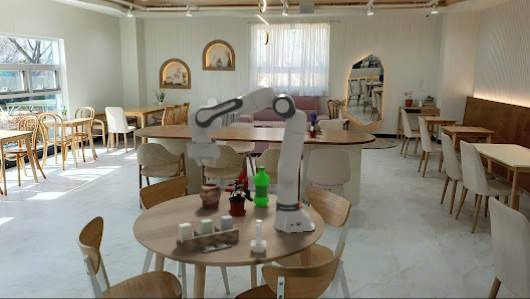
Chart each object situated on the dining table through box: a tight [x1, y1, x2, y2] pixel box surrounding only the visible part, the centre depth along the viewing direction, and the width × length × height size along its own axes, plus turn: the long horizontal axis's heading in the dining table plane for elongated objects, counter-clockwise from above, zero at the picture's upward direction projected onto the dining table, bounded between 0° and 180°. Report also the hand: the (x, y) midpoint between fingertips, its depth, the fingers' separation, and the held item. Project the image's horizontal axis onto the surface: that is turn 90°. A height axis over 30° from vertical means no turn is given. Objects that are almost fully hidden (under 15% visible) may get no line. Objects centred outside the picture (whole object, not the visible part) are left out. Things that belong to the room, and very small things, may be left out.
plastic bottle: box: [253, 165, 271, 208], centre depth 248 cm, size 10×10×25 cm
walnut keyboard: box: [176, 225, 240, 254], centre depth 194 cm, size 28×18×6 cm, turn 120°
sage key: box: [199, 218, 214, 235], centre depth 198 cm, size 5×4×8 cm
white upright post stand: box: [250, 219, 267, 254], centre depth 186 cm, size 7×9×15 cm
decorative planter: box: [198, 182, 222, 210], centre depth 247 cm, size 20×12×14 cm, turn 162°
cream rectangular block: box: [178, 222, 193, 243], centre depth 193 cm, size 5×4×8 cm
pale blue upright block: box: [220, 214, 234, 231], centre depth 204 cm, size 5×4×8 cm
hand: (207, 166), depth 208 cm, fingers open, 8 cm apart
